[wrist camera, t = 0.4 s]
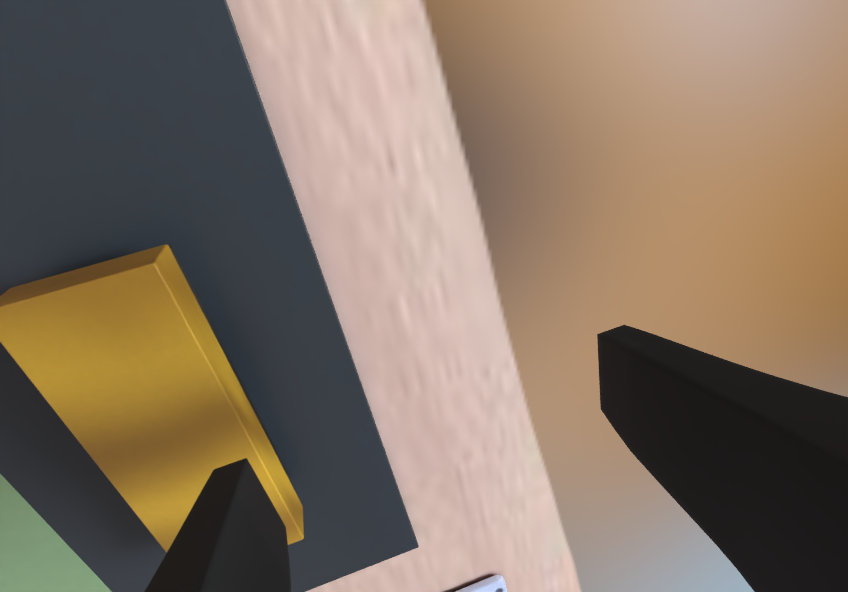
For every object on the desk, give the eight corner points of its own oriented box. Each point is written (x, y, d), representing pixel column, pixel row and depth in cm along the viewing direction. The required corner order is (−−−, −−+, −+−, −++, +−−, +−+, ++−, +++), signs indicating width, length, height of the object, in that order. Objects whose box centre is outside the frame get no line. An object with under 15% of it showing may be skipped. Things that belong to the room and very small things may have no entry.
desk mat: (417, 542, 25) (418, 547, 24) (-33, 717, 22) (-37, 725, 22) (203, -63, 12) (202, -66, 12) (-910, 160, 9) (-942, 163, 9)
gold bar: (302, 483, 21) (304, 539, 18) (200, 520, 20) (189, 583, 18) (176, 230, 15) (154, 262, 12) (29, 271, 14) (-24, 313, 12)
